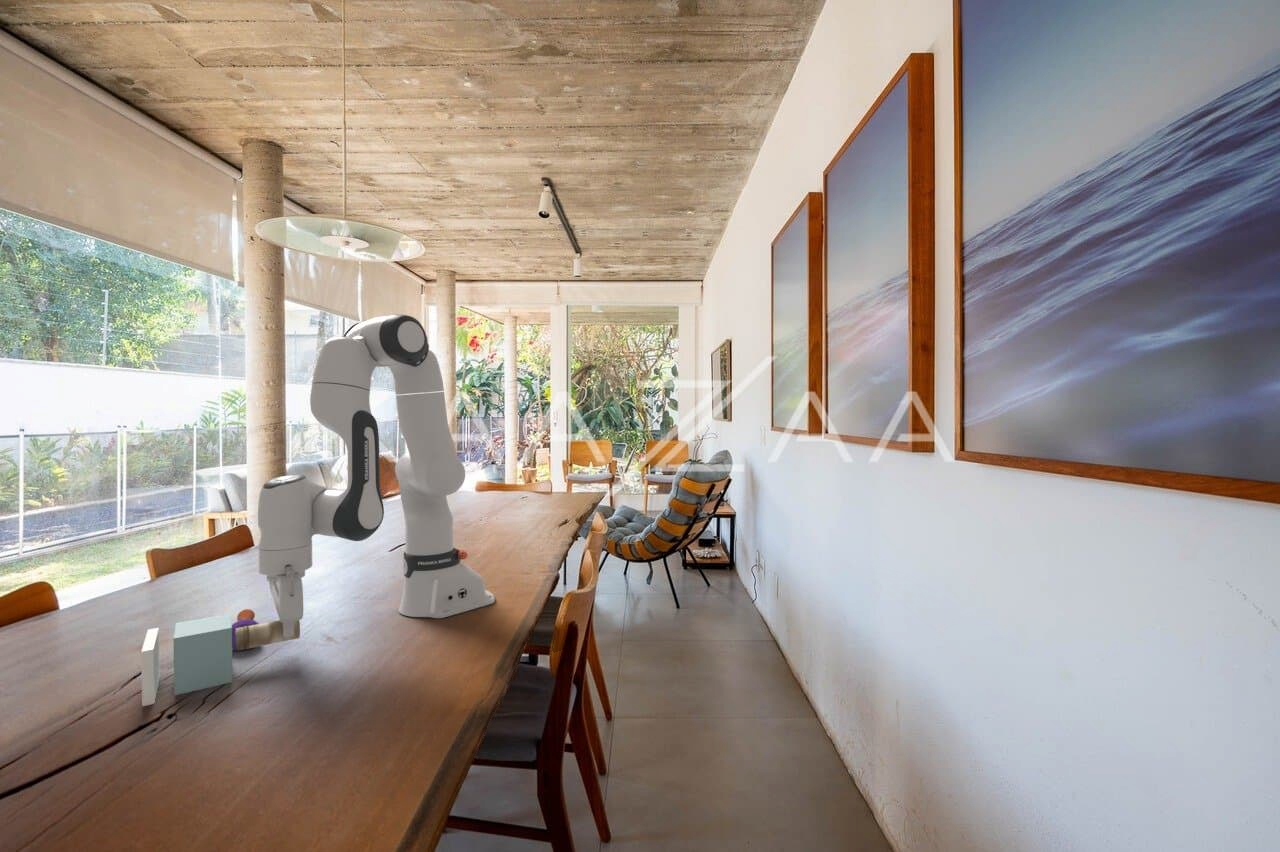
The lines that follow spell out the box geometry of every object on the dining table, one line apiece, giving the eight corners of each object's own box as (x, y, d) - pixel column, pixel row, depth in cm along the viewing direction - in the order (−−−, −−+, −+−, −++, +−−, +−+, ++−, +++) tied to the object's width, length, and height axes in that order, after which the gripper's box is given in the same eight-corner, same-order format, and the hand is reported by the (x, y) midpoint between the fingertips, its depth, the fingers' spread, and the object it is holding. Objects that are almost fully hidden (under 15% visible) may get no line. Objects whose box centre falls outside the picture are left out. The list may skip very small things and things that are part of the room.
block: (231, 664, 108) (230, 613, 108) (232, 682, 101) (231, 627, 101) (177, 676, 103) (176, 622, 103) (174, 695, 96) (173, 638, 96)
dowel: (297, 634, 113) (297, 613, 112) (300, 641, 109) (299, 620, 109) (235, 646, 107) (235, 624, 106) (236, 654, 103) (236, 632, 103)
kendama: (264, 603, 132) (264, 622, 115) (258, 629, 131) (258, 653, 114) (233, 603, 129) (228, 622, 112) (227, 630, 128) (222, 654, 111)
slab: (159, 676, 103) (158, 627, 103) (154, 703, 93) (153, 649, 93) (148, 679, 102) (147, 629, 102) (142, 706, 92) (141, 651, 92)
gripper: (312, 569, 103) (313, 644, 103) (298, 548, 119) (299, 613, 120) (270, 575, 99) (271, 653, 99) (262, 552, 116) (263, 620, 116)
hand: (286, 631), depth 110 cm, fingers closed on dowel, 4 cm apart
